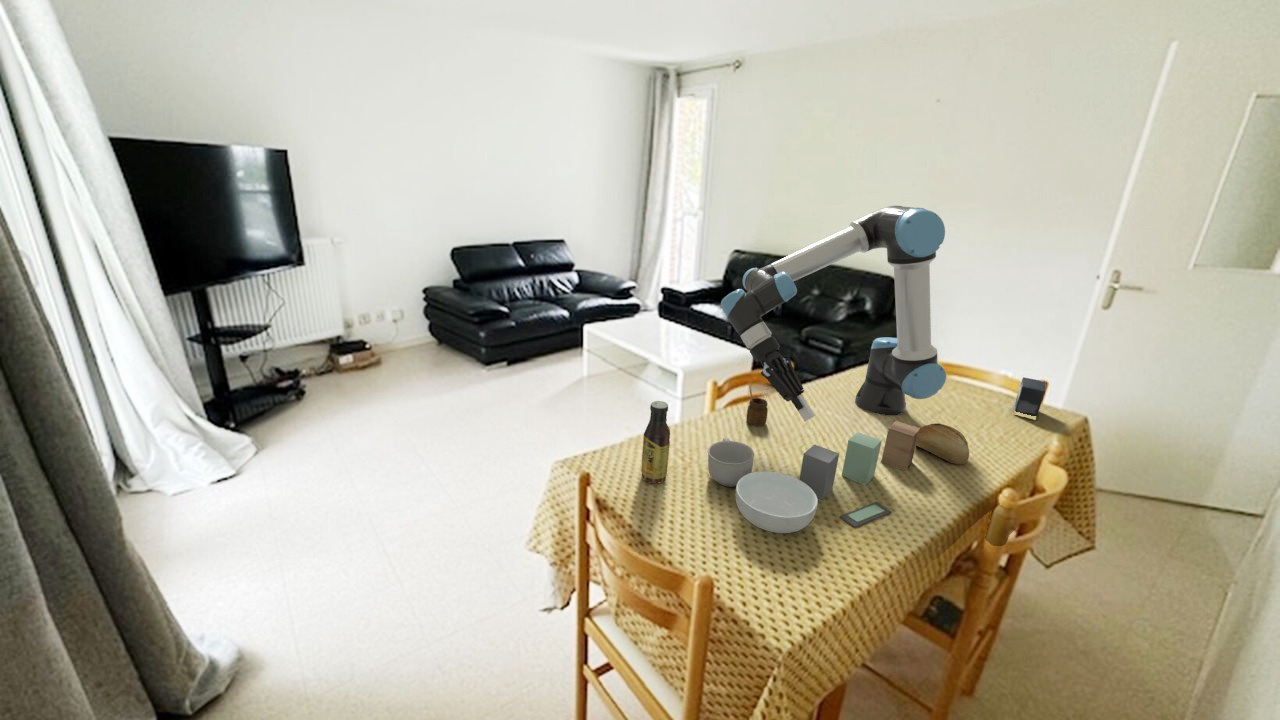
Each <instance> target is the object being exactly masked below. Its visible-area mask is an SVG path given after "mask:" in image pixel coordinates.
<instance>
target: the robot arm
mask: <svg viewBox="0 0 1280 720" xmlns="http://www.w3.org/2000/svg"><path fill="white" fill-rule="evenodd" d="M945 235H946V226H945V224H944V221H943V220H942V218H941V216H940V215H939V214H937V213H936V212H935V211H932V210H928V209H926V208H923V207H911V206H909V207H908V206H902V205H889V206H886V207H883V208H880V209H877V210H875V211H873V212H871V213H868V214H866V215H864V216H862V217H860V218H857V219H856V220H853V221H851V222H850V224H849V226H848V227H847V228H845V229H843V230H841V231H839V232H836V233H834V234H832V235H830V236H828V237H826V238H823V239H821V240H819V241H817V242H814V243H813V244H811V245H808V246H806V247H805V248H802V249H800V250H798V251H795V252H793V253H792V254H791V253H790V254H789V255H787V256H785V257H783V258H781V259H779V260H776V261H774V262H772V263H770V264H767V265H766V266H763V267H760V268H759V267H752V268H750V269H748V270H747V271H746V272H745V273H744V274H743V277H742V286H743V288H744V289H745V291H744V289H742V288H738V289H735V290H734V291H731V292H730V293H728V294H727V295H726V296H724V297H723V298H722V299H721V302H720V307H721V309H722V311H723V313H724V314H725V316H726V318H727V320H728V321H729V323H730V324H731V325H732V327H733V328H734V330H735V331H736V332H737V335H738V337H740V339H741V340H742V342H743V344H744V345H745V347H746V348H747V349H750V350H749V353H750V354H751V356H752V357H753V359H754V361H755V362H760V363H761V366H762V368H763V370H762V371H760V375H761V376H762V377H764V378H765V379H766V380H767V381H768V383H770V384H771V386H772V388H774V390H776V392H777V393H778V394H779V396H780V397H781V398H782V399H783V400H784V401H786V402H790V401H791V403H792V405H793V406H794V407H795V410H797V412H798V414H800V417H801V418H802V419H803V422H806V421H809V420H810V419H813V418H815V416H816V414H815V413H814V411H813V409H812V408H811V406H810V405H809V404H808V402H807V400H806V399H805V398H804V396H803V393H805V390H804V387H803V384H802V382H801V379H800V378H799V376H798V375H797V374H798V373H797V372H796V370H795V369H794V367H793V363H792V360H791V357H786V358H785V357H783V355H782V354H781V353H780V352H779V349H780V348H781V345H780V344H779V342H778V340H777V339H776V337H775V336H772V334H773V333H772V331H771V330H770V328H769V327H768V326H767V324H766V323H765V322H764V321H765V320H764V319H763V318H762V317H763V316H764V315H766V314H767V313H769V312H771V311H772V310H774V309H775V308H777V307H780V305H782V304H784V303H787V302H789V300H791V299H792V298H793V297H794V296H796V295H797V292H798V289H797V286H796V284H795V281H798V280H800V279H801V278H803V277H806V276H808V275H811V274H813V273H815V272H818V271H819V270H822V269H824V268H826V267H828V266H830V265H832V264H835V263H837V262H839V261H841V260H843V259H845V258H848V257H851V256H852V255H855V254H856V253H859V252H860V253H864V254H865V253H867V252H869V251H872V250H875V249H881V248H882V249H886V256H887V258H886V259H887V263H888V264H889V265H890V266H892V267H893V275H894V298H895V301H894V302H895V319H896V337H891V336H890V337H886V336H885V337H884V336H883V337H877V338H875V339H874V340H872V344H871V347H870V353H869V359H868V364H867V368H866V374H865V379H864V382H863V383H862V384H861V387H860V388H859V389H858V391H857V393H856V394H855V401H854V403H855V405H857V407H859V408H861V409H862V410H864V411H866V412H869V413H871V414H872V413H873V414H876V415H881V416H889V417H890V416H892V417H893V416H901V415H903V414H904V413H905V412H906V408H907V407H906V406H907V402H906V396H909V397H911V398H913V399H917V400H925V399H928V398H931V397H933V396H935V395H936V394H938V392H939V391H940V390H941V389H942V388H943V387H944V386H945V383H946V380H947V372H946V370H945V368H944V367H943V366H942V365H940V363H938V350H937V348H936V347H935V346H933V344H932V331H931V330H932V329H931V327H932V326H931V318H932V317H931V278H930V277H931V276H930V274H931V273H930V270H931V268H930V264H931V263H932V262H933V261H934V260H935V259H936V258H937V251H938V250H939V249H940V245H942V244H943V243H944V240H945ZM746 291H747V292H746Z"/></svg>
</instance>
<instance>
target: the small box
mask: <svg viewBox="0 0 1280 720" xmlns="http://www.w3.org/2000/svg"><path fill="white" fill-rule="evenodd" d="M1045 395H1046V381H1045V380H1041V379H1033V378H1028V377H1022V379H1021V382H1020V385H1019V388H1018V392H1017V394H1016V398H1015V402H1014V407H1015V408H1013V409H1014V410H1015V411H1016V412H1020V413H1023V414H1027V415H1031V416H1037V417H1039V412H1040V409H1041V405H1042V403H1043V399H1044V396H1045ZM1014 410H1013V411H1014Z"/></svg>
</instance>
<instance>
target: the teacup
mask: <svg viewBox="0 0 1280 720" xmlns="http://www.w3.org/2000/svg"><path fill="white" fill-rule="evenodd" d="M754 457H755V453H754V450H753V449H752V448H751V446H749V445H747V444H745V443H742V442H739V441H733V440H731V439H730V437H728V436H727V437H723V438H722V441H717V442H715V443H712V444H711V445H710V446H709V447H708V448H707V467H708V468H707V469H708V473H709V475H710V477H711V478H712V480H714V481H715V482H716V483H719V485H722V486H724V487H730V488H731V487H732V488H733V487H736V486H737V483H738V481H739V480H740V479H741V478H742V477H743V476H745V475H747V474H750V473H753V472H752V471H753V467H754Z"/></svg>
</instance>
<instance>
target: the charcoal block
mask: <svg viewBox="0 0 1280 720" xmlns="http://www.w3.org/2000/svg"><path fill="white" fill-rule="evenodd" d="M839 458H840V453H839V452H837V451H835V450H831V449H828V448H825V447H823V446H820V445H817V444H813V445H812V446H811V447H810V448H808V449H807V450H806V451H805V452H804V453H803V456H802V462H801V469H800V474H799V479H798V480H800V481H802V482H804V483H805V484H806V485H808V486H809V487H810V488H811V489H812V490H813V491H814V493H815V494H816V496H817V499H818V501H821V502H823V501H824V500H825V499H826V498H827V497H828V496H829V495H830V494H831V492H833V489H834V483H835V477H836V473H837V468H838V462H839Z"/></svg>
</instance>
